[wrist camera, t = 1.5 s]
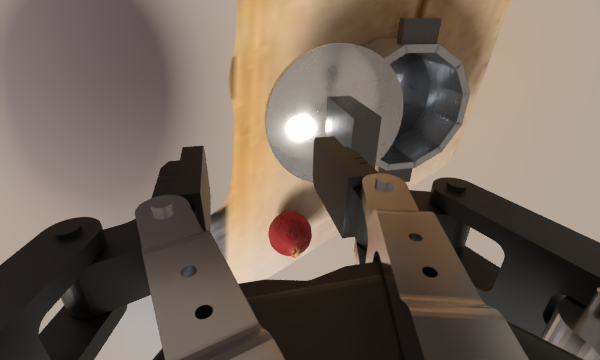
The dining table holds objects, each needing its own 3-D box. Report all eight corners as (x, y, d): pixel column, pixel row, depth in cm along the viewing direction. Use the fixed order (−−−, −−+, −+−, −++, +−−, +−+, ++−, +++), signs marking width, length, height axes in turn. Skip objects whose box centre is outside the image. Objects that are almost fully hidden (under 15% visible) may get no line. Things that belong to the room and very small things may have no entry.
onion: (269, 199, 46) (279, 234, 39) (308, 202, 47) (324, 236, 41) (261, 233, 48) (270, 271, 41) (299, 235, 50) (313, 272, 43)
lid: (261, 43, 29) (276, 56, 22) (410, 41, 32) (462, 52, 26) (267, 186, 36) (280, 228, 29) (389, 174, 39) (425, 209, 32)
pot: (335, 15, 36) (359, 18, 30) (446, 16, 39) (489, 19, 33) (327, 166, 45) (344, 191, 39) (418, 157, 48) (447, 180, 42)
